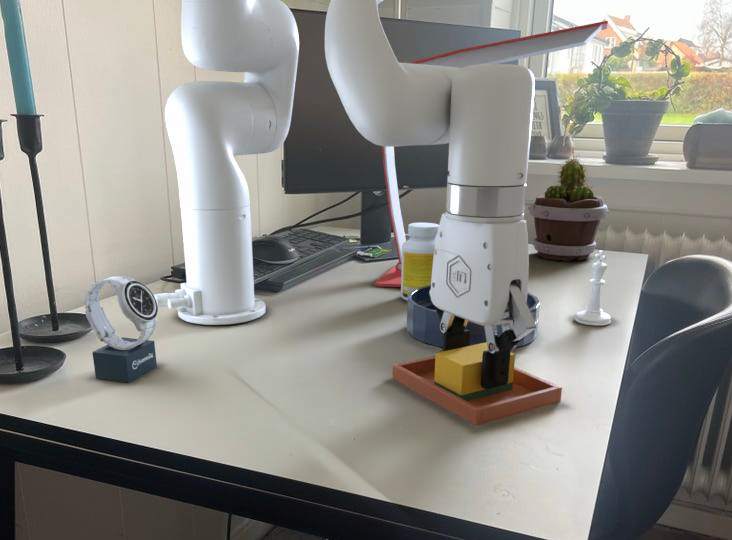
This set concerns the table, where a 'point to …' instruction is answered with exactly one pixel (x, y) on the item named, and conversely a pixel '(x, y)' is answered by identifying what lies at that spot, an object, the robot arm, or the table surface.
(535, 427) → the table surface
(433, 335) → the bowl
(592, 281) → the chess piece
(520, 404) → the sponge dish
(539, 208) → the flowerpot
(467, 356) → the sponge
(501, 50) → the desk lamp
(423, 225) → the pill bottle
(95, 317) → the watch
